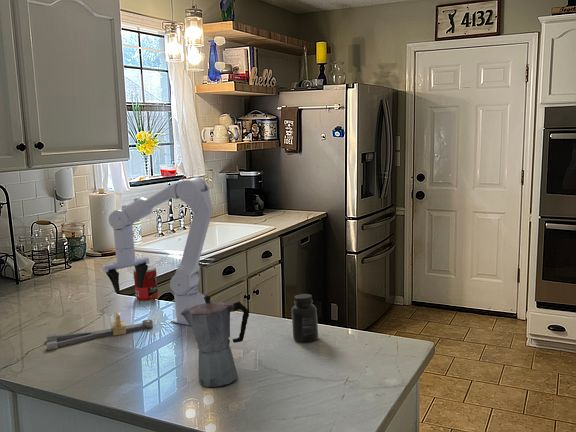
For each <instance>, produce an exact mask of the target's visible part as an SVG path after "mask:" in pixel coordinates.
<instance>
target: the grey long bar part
mask: <svg viewBox="0 0 576 432" xmlns="http://www.w3.org/2000/svg"><path fill="white" fill-rule="evenodd" d="M125 326H126V334H127V333H132V332H137V331H144V330H150V329H153V328H154V324H153V319H148V318H147V319H144V320H142V322H141V323H135V324H129V325H125ZM152 327H153V328H152ZM110 336H113V330H112V328H106V329H100V330H95V331H84V332H77V333H76V332H75V333H68V334H67V333H66V334H60V335H59V334H58V335H57V333H51V334H46V347H47V351H53V350H58V348H62V347H66V346H70V345H74V344H78V343H82V342H86V341H90V340H93V339H98V338H104V337H110Z"/></svg>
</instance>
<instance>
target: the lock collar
mask: <svg viewBox="0 0 576 432" xmlns="http://www.w3.org/2000/svg"><path fill="white" fill-rule="evenodd" d="M126 326H127V325H126V323H125V322H124V320H121V315H120V313H119V312H114V322H110V327H111V328H112V330H113V335H112V336H113V337H115V336H120V335H124V334H125V335H126V334H127V333H126ZM111 328H110V329H111Z"/></svg>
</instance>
